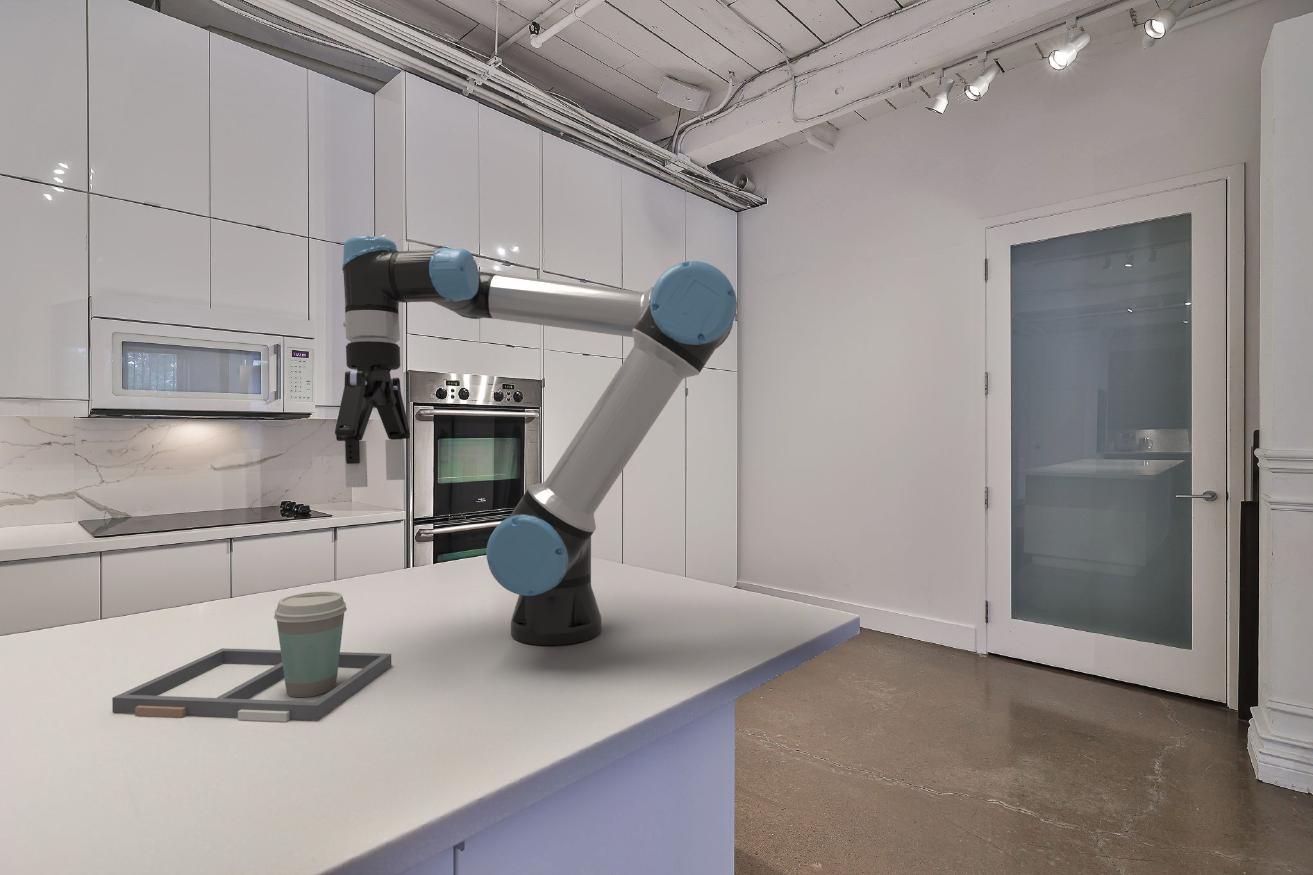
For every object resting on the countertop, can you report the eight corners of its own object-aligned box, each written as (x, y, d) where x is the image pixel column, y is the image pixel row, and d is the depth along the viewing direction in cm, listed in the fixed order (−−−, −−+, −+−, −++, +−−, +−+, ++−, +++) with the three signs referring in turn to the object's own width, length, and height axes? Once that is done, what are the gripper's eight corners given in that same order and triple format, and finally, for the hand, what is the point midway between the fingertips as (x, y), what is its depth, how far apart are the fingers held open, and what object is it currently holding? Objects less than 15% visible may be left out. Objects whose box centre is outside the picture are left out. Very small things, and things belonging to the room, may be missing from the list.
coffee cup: (361, 681, 90) (361, 593, 90) (310, 706, 82) (309, 609, 82) (312, 673, 93) (312, 588, 93) (258, 696, 85) (257, 603, 85)
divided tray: (391, 666, 96) (391, 653, 96) (314, 722, 77) (314, 707, 77) (222, 660, 98) (221, 648, 98) (108, 714, 80) (107, 699, 80)
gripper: (383, 353, 113) (387, 477, 113) (303, 331, 88) (308, 491, 88) (427, 351, 113) (431, 476, 113) (359, 329, 88) (365, 490, 88)
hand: (377, 483), depth 100 cm, fingers open, 13 cm apart
